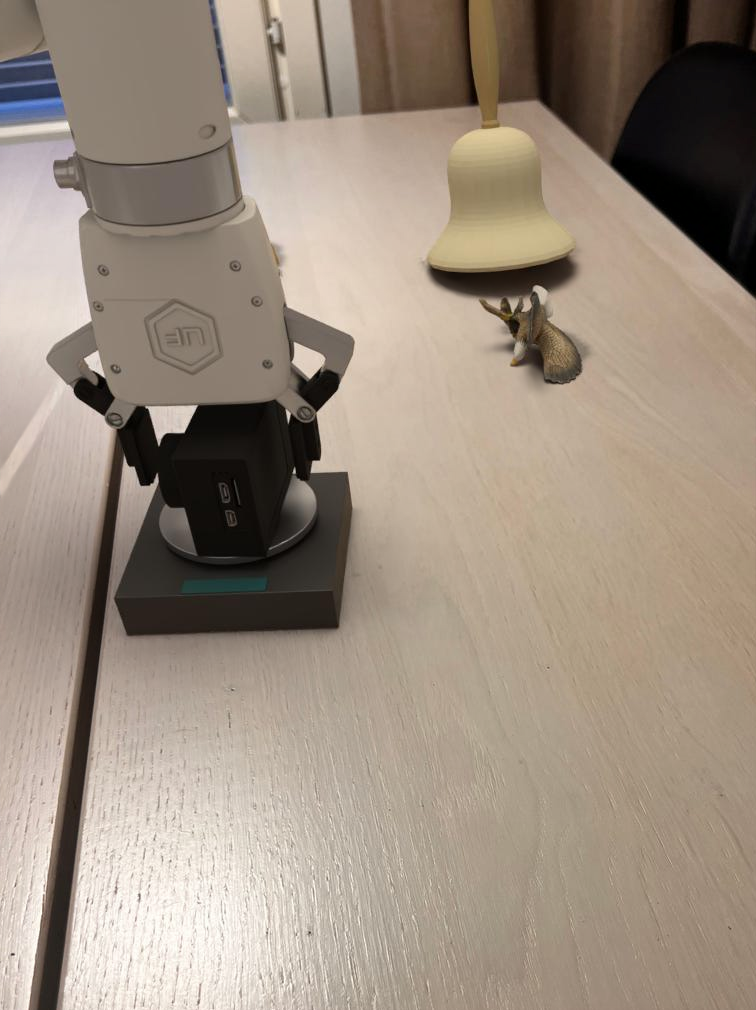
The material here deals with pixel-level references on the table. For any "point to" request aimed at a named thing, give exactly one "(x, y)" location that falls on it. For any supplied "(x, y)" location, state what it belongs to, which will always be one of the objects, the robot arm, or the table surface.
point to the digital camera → (229, 476)
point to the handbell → (495, 181)
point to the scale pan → (288, 531)
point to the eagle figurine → (539, 335)
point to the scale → (241, 577)
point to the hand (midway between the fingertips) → (228, 471)
